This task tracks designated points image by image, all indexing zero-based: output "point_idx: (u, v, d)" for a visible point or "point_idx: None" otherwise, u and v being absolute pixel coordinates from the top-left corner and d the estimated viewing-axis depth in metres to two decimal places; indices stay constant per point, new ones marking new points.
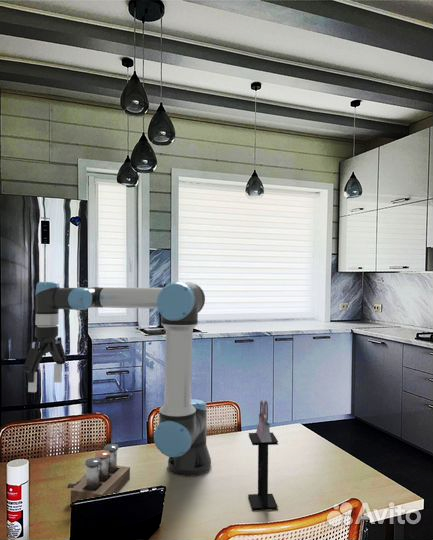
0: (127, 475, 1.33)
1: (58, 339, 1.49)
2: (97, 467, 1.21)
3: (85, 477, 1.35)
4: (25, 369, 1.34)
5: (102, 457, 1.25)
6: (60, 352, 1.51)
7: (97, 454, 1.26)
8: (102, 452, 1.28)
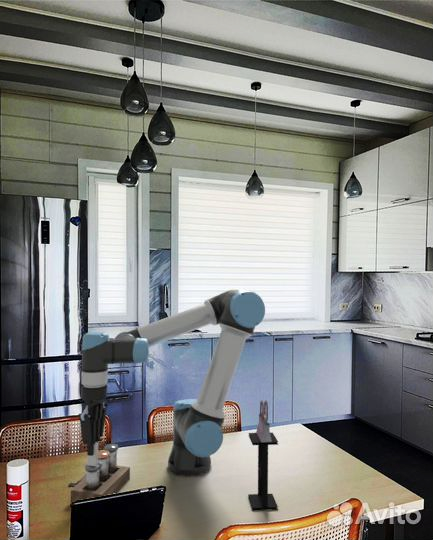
0: (127, 475, 1.33)
1: (105, 404, 1.27)
2: (97, 472, 1.21)
3: None
4: (85, 441, 1.19)
5: (102, 457, 1.25)
6: (101, 422, 1.25)
7: None
8: (102, 452, 1.28)
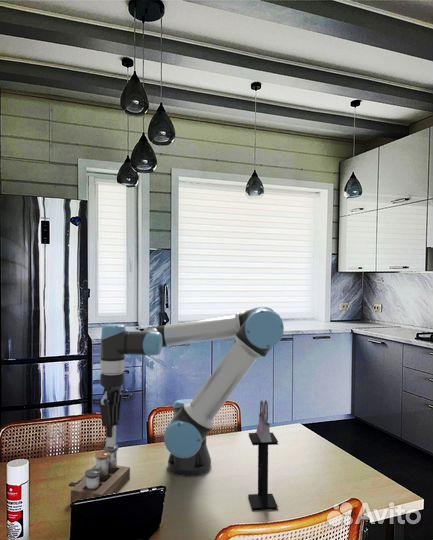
0: (127, 475, 1.33)
1: (121, 391, 1.38)
2: (97, 478, 1.21)
3: None
4: (104, 424, 1.29)
5: (102, 457, 1.25)
6: (118, 407, 1.36)
7: (97, 454, 1.26)
8: (102, 452, 1.28)
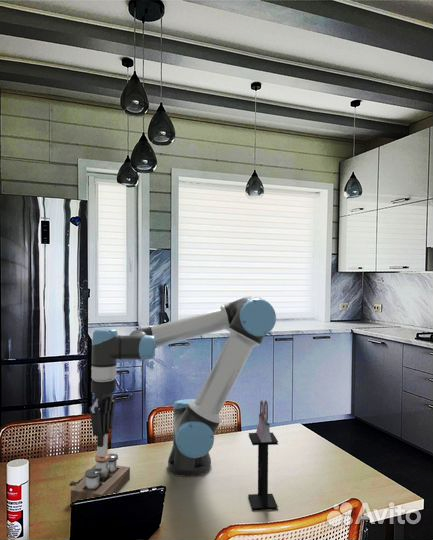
0: (127, 475, 1.33)
1: (113, 398, 1.33)
2: (97, 478, 1.21)
3: None
4: (95, 433, 1.24)
5: (102, 460, 1.25)
6: (109, 414, 1.31)
7: (97, 457, 1.26)
8: None
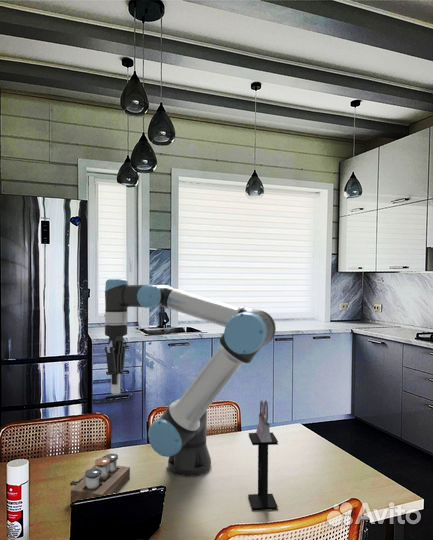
0: (127, 475, 1.33)
1: (124, 343, 1.46)
2: (97, 478, 1.21)
3: None
4: (110, 371, 1.37)
5: (102, 464, 1.25)
6: None
7: (97, 461, 1.26)
8: (102, 459, 1.28)
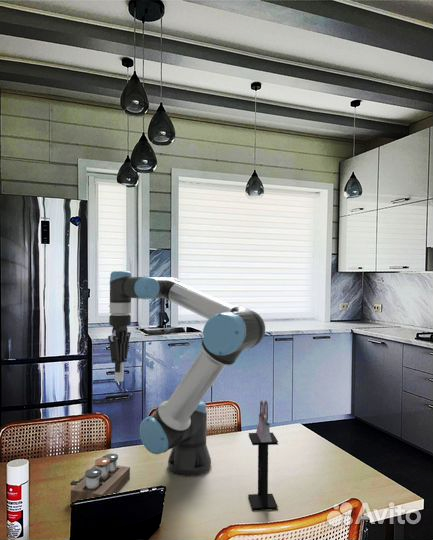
0: (127, 475, 1.33)
1: (128, 333, 1.51)
2: (97, 478, 1.21)
3: None
4: (113, 359, 1.43)
5: (102, 464, 1.25)
6: (125, 347, 1.50)
7: (97, 461, 1.26)
8: (102, 459, 1.28)
